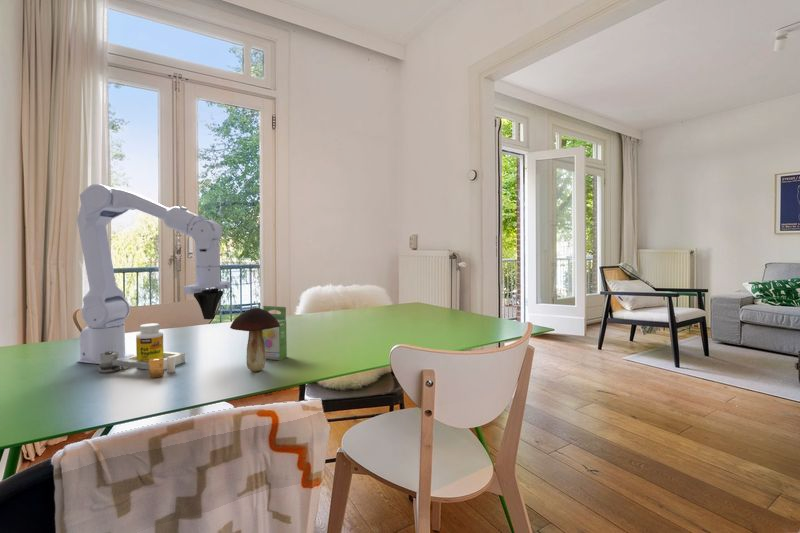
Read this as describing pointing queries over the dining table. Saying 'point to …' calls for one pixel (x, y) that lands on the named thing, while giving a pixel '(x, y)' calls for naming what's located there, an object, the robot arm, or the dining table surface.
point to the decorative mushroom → (255, 334)
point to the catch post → (171, 364)
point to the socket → (178, 358)
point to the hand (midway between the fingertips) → (209, 318)
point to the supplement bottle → (149, 342)
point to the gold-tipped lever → (132, 363)
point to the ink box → (276, 336)
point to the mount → (109, 370)
